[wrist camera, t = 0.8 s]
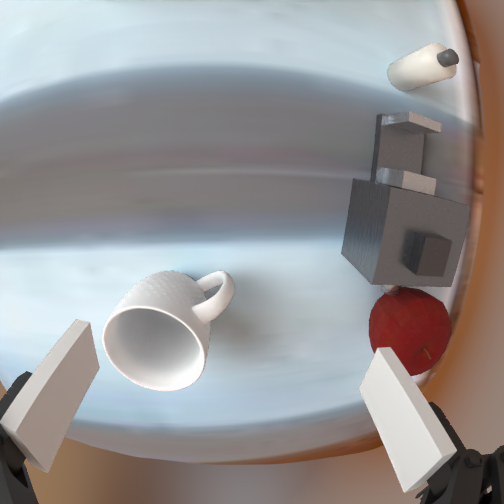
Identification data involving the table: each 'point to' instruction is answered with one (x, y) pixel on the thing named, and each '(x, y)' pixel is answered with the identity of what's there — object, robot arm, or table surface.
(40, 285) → the table surface
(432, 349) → the apple
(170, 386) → the mug
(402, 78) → the white bottle
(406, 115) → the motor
